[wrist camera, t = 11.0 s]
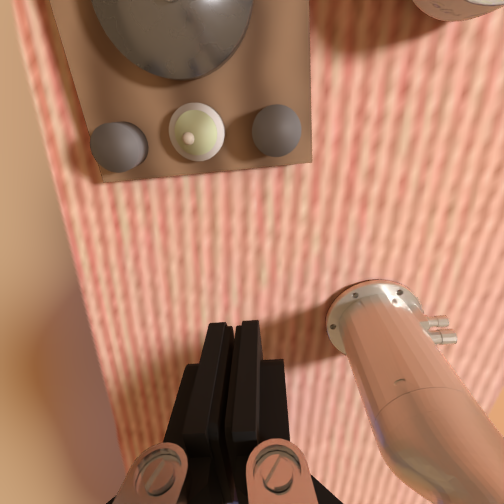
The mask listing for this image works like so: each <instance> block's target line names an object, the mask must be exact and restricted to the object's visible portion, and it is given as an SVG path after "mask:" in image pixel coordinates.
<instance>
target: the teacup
mask: <svg viewBox="0 0 504 504" xmlns="http://www.w3.org/2000/svg"><path fill="white" fill-rule="evenodd" d="M412 1H413V2H414V3H415V5H416V6H417V7H418V8H419V9H420V10H421V11H422V12H424V13H425V14H427V15H429V16H430V17H433V18H435V19H438V20H442V21H451V22H454V21H464V20H469V19H473V18H476V17H479V16H482V15H484V14H487V13H490V12H492V11H494V10H496V9H499V8H501V7H503V6H504V0H412Z"/></svg>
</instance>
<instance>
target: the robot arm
mask: <svg viewBox="0 0 504 504" xmlns="http://www.w3.org/2000/svg"><path fill="white" fill-rule="evenodd" d="M447 326H449V319H448V317H447V316H446V315H444V316H434V317H428V316H427V315H424V311H423V308H422V304H421V303H420V301H419V299H418V298H417V297H416V295H415V294H414V293H413V292H412V291H411V290H410V289H408V288H407V287H406V286H404V285H402V284H400V283H397V282H393V281H389V280H371V281H366V282H362V283H359V284H357V285H354V286H352V287H350V288H349V289H347V290H345V291H344V292H343V293H342V294H340V295H339V296H338V297H337V298H336V299H335V301H334V302H333V303H332V305H331V306H330V308H329V310H328V313H327V317H326V329H327V333H328V336H329V339H330V341H331V342H332V344H333V345H334V346H335V347H336V348H337V349H338V350H339V351H340V352H342V353H343V354H345V355H347V357H348V360H349V363H350V366H351V369H352V372H353V375H354V377H355V380H356V383H357V386H358V389H359V392H360V395H361V398H362V401H363V404H364V407H365V410H366V413H367V416H368V419H369V422H370V425H371V428H372V431H373V434H374V436H375V439H376V442H377V445H378V448H379V450H380V453H381V455H382V457H383V459H384V461H385V462H386V464H387V465H388V467H389V468H390V469H391V471H392V472H393V473H394V474H395V475H396V476H397V477H398V478H399V479H400V480H401V481H402V482H403V483H405V484H406V485H407V486H408V487H410V488H411V489H412V490H414V491H415V492H417V493H418V494H420V495H421V496H423V497H424V498H425V499H427V500H429V501H430V502H432V503H433V504H504V437H503V436H502V435H501V433H500V432H499V431H498V430H497V428H496V427H495V426H494V424H493V423H492V421H491V420H490V419H489V417H488V416H487V415H486V413H485V412H484V411H483V409H482V408H481V406H480V405H479V404H478V402H477V401H476V400H475V399H474V397H473V396H472V394H471V393H470V392H469V390H468V389H467V387H466V386H465V385H464V383H463V382H462V381H461V379H460V378H459V376H458V375H457V374H456V372H455V371H454V369H453V368H452V367H451V365H450V364H449V362H448V361H447V360H446V358H445V357H444V356H443V354H442V353H441V351H440V350H439V349H438V347H437V346H436V344H439V345H449V344H456V343H457V335H456V333H455V331H454V330H453V329H440V330H434V331H429V330H428V329H429V328H430V327H447ZM235 489H236V494H237V499H238V504H343V503H342V502H341V501H340V500H339V499H337V498H336V497H335V496H334V495H333V494H332V493H331V492H330V491H329V490H327V489H326V488H325V487H324V486H323V485H322V484H321V483H320V482H319V481H318V480H316V479H315V478H314V477H313V476H312V475H311V474H310V471H309V468H308V464H307V461H306V459H305V457H304V454H303V453H302V451H301V450H300V449H299V448H298V447H297V446H296V445H294V444H293V443H291V442H290V434H289V422H288V410H287V397H286V385H285V373H284V361H283V359H275V360H263V354H262V345H261V336H260V327H259V321H258V320H252V321H243V322H242V325H241V326H236V333H235V339H234V333H233V327H232V326H227V324H226V322H220V323H210V324H209V326H208V330H207V334H206V338H205V342H204V346H203V350H202V355H201V359H200V363H199V364H188V365H187V366H186V368H185V370H184V373H183V377H182V380H181V384H180V387H179V390H178V394H177V397H176V400H175V404H174V407H173V411H172V414H171V417H170V421H169V424H168V427H167V431H166V434H165V438H164V441H163V443H159V444H157V445H154V446H151V447H150V448H148V449H147V450H145V451H144V452H143V453H142V454H141V455H140V456H139V457H138V458H137V459H136V460H135V462H134V463H133V465H132V466H131V468H130V470H129V472H128V474H127V476H126V478H125V480H124V482H123V484H122V486H121V488H120V490H119V491H118V493H117V495H116V496H115V497H114V498H112V499H111V500H110V501H109V502H108V503H106V504H227V503H233V501H234V493H235Z"/></svg>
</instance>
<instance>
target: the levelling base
mask: <svg viewBox="0 0 504 504" xmlns="http://www.w3.org/2000/svg"><path fill="white" fill-rule="evenodd" d="M49 1H50V4H51V8H52V11H53V14H54V18H55V21H56V24H57V28H58V31H59V34H60V38H61V41H62V44H63V48H64V51H65V54H66V58H67V61H68V64H69V68H70V71H71V74H72V78H73V81H74V85H75V88H76V91H77V95H78V98H79V101H80V105H81V108H82V111H83V115H84V118H85V121H86V125H87V128H88V131H89V135H90V138H91V139H90V148H91V152H92V154H93V156H94V158H95V160H96V161H97V162H98V165H99V168H100V172H101V175H102V178H103V182H104V183H106V182H116V181H126V180H137V179H147V178H157V177H168V176H178V175H188V174H198V173H209V172H219V171H229V170H240V169H250V168H260V167H270V166H281V165H291V164H301V163H312V127H311V76H310V26H309V0H253V8H252V15H251V19H250V22H249V26H248V29H247V31H246V34H245V36H244V39H243V40H242V42H241V44H240V46H239V48H238V49H237V51H236V52H235V53H234V55H233V56H232V57H231V58H230V59H229V60H228V61H227V62H226V63H225V64H224V65H223V66H222V67H221V68H219V69H218V70H216V71H215V72H213V73H211V74H209V75H207V76H204V77H202V78H198V79H194V80H184V81H183V80H172V79H168V78H164V77H160V76H157V75H154V74H152V73H149V72H147V71H145V70H143V69H141V68H139V67H138V66H137V65H135V64H134V63H132V62H131V61H130V60H128V59H127V58H126V57H125V56H124V55H123V54H122V53H121V52H120V51H119V50H118V49H117V48H116V47H115V45H114V44H113V43H112V41H111V40H110V39H109V37H108V36H107V35H106V33H105V31H104V29H103V28H102V26H101V24H100V22H99V20H98V18H97V15H96V13H95V11H94V8H93V5H92V2H91V0H49Z"/></svg>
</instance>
